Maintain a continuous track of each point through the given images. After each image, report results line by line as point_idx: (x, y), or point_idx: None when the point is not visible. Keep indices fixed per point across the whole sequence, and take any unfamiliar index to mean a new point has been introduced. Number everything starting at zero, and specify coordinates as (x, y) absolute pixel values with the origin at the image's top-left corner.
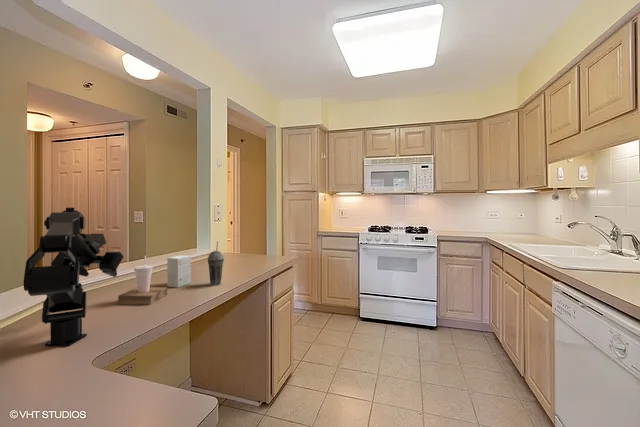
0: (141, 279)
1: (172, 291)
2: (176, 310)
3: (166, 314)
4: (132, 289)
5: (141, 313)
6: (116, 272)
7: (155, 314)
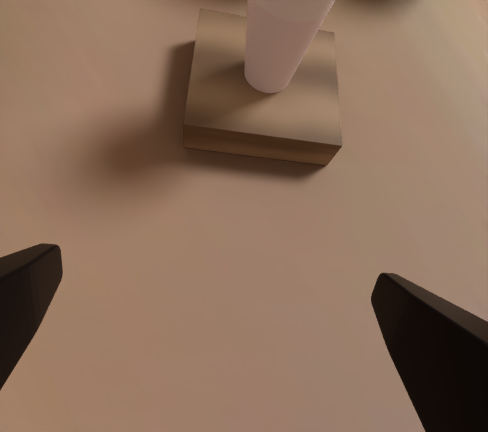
0: (293, 41)
1: None
2: (469, 242)
3: (462, 288)
4: (197, 41)
5: (356, 273)
6: (425, 297)
7: None
